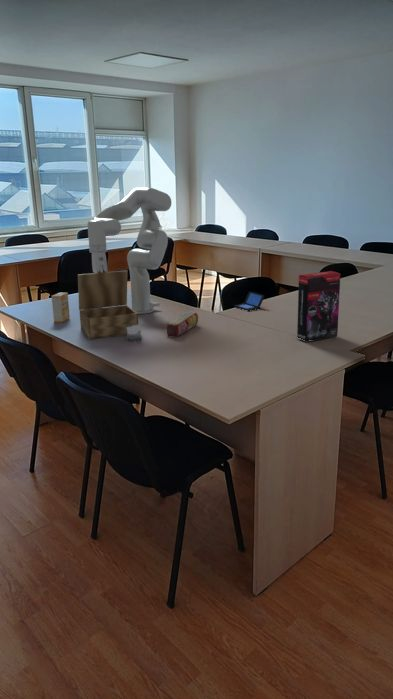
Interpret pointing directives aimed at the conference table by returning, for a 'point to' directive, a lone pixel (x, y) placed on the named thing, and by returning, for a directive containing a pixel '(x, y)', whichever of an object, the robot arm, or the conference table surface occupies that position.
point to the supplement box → (60, 307)
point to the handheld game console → (251, 301)
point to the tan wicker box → (107, 321)
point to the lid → (102, 289)
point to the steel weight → (133, 332)
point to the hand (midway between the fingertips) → (100, 289)
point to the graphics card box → (318, 305)
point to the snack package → (182, 324)
